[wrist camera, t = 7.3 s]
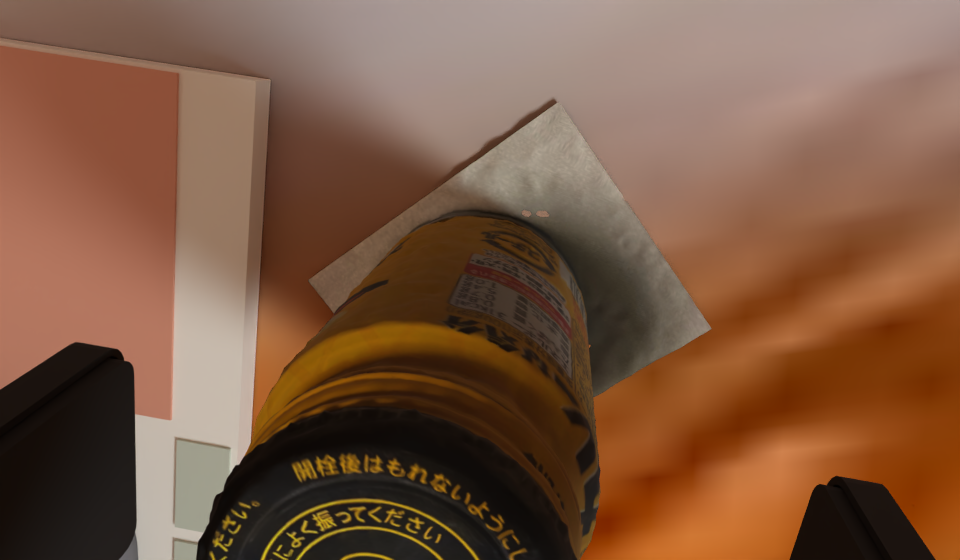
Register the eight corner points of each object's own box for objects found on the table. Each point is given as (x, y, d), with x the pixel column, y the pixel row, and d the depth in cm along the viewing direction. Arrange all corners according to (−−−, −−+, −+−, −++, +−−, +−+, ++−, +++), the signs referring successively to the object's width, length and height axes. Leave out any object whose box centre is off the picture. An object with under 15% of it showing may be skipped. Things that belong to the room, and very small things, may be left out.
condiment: (309, 278, 22) (24, 536, 10) (559, 101, 19) (555, 174, 8) (460, 471, 23) (358, 893, 11) (709, 324, 21) (890, 663, 9)
